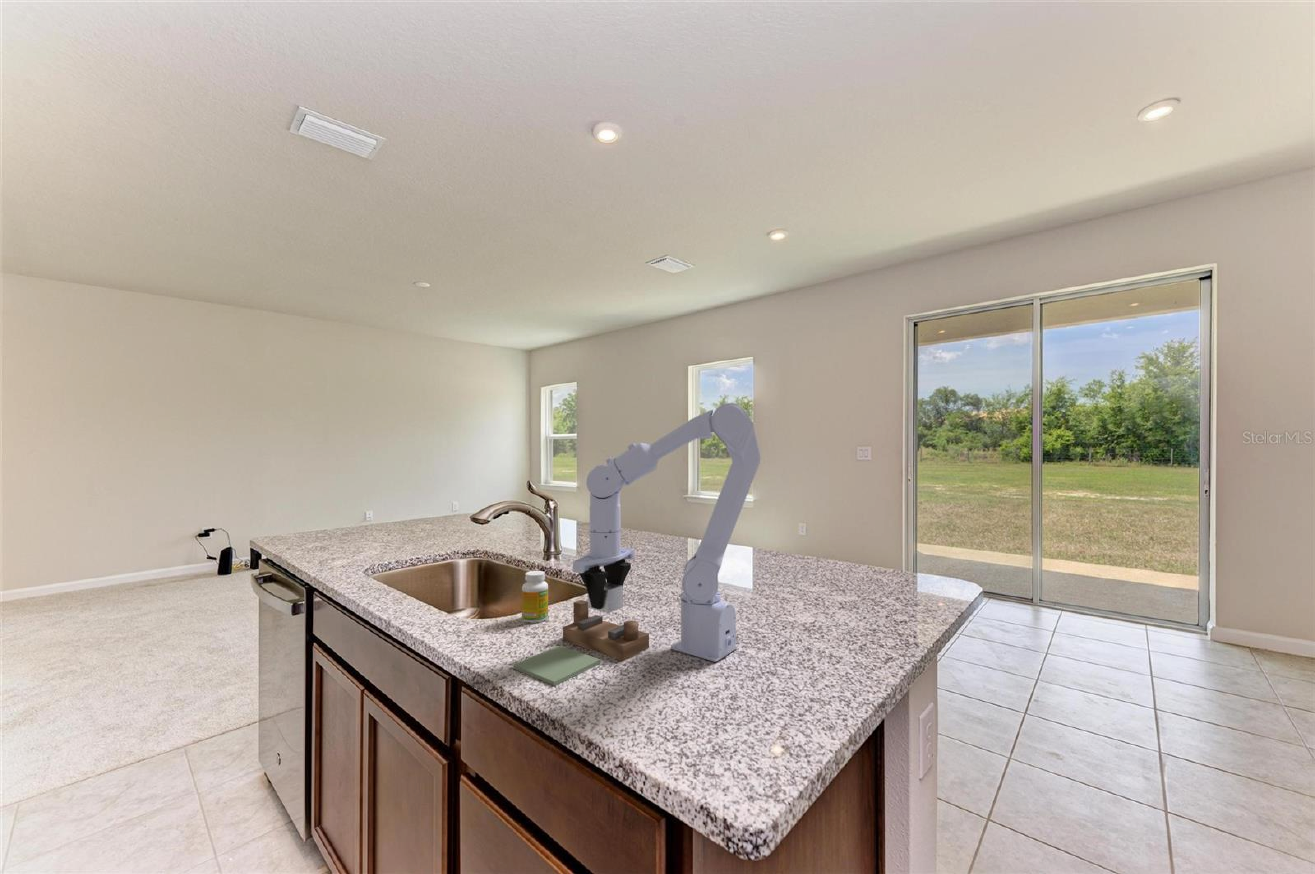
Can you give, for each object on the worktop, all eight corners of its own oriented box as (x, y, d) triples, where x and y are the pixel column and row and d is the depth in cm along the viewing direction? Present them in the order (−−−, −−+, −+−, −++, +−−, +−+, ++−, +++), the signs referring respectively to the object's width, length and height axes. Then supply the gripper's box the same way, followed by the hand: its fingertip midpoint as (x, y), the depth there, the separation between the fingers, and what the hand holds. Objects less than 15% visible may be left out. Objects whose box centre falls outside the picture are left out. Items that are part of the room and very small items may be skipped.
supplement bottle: (541, 624, 102) (541, 576, 102) (517, 622, 103) (517, 575, 103) (552, 615, 107) (552, 570, 107) (528, 614, 108) (529, 569, 109)
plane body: (649, 647, 90) (649, 611, 90) (623, 660, 84) (623, 622, 85) (589, 629, 99) (589, 596, 99) (562, 640, 93) (562, 605, 94)
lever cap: (622, 607, 92) (622, 582, 92) (607, 613, 89) (607, 587, 89) (602, 602, 95) (602, 578, 95) (587, 607, 92) (587, 582, 92)
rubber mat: (600, 663, 83) (600, 659, 84) (554, 685, 76) (554, 681, 76) (559, 648, 90) (559, 645, 90) (513, 668, 82) (513, 664, 82)
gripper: (615, 523, 100) (615, 592, 100) (560, 533, 89) (560, 610, 88) (642, 527, 96) (643, 598, 96) (589, 537, 85) (589, 618, 84)
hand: (605, 604), depth 92 cm, fingers closed on lever cap, 4 cm apart
